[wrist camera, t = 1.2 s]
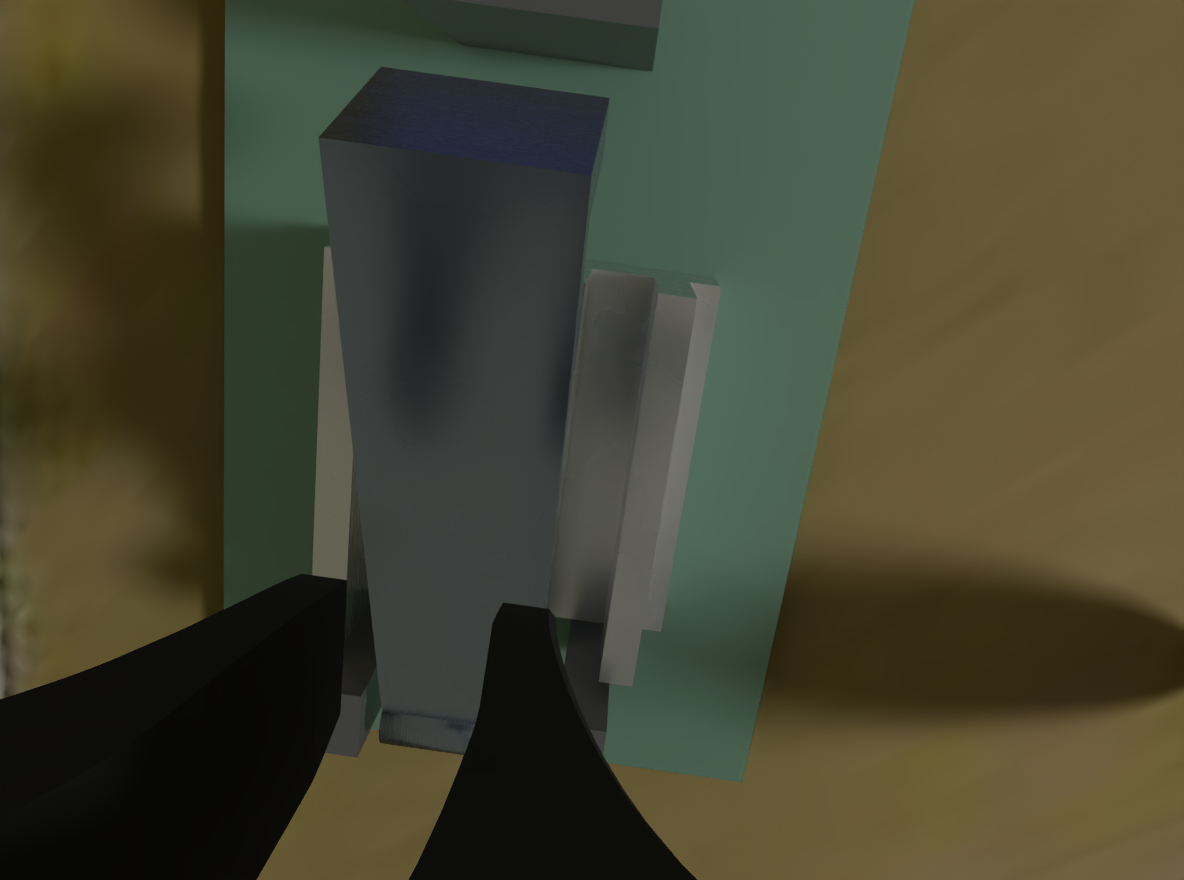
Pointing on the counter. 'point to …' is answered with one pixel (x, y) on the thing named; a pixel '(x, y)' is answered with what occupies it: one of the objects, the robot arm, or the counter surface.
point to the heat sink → (573, 454)
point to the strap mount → (551, 29)
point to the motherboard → (616, 235)
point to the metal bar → (456, 362)
